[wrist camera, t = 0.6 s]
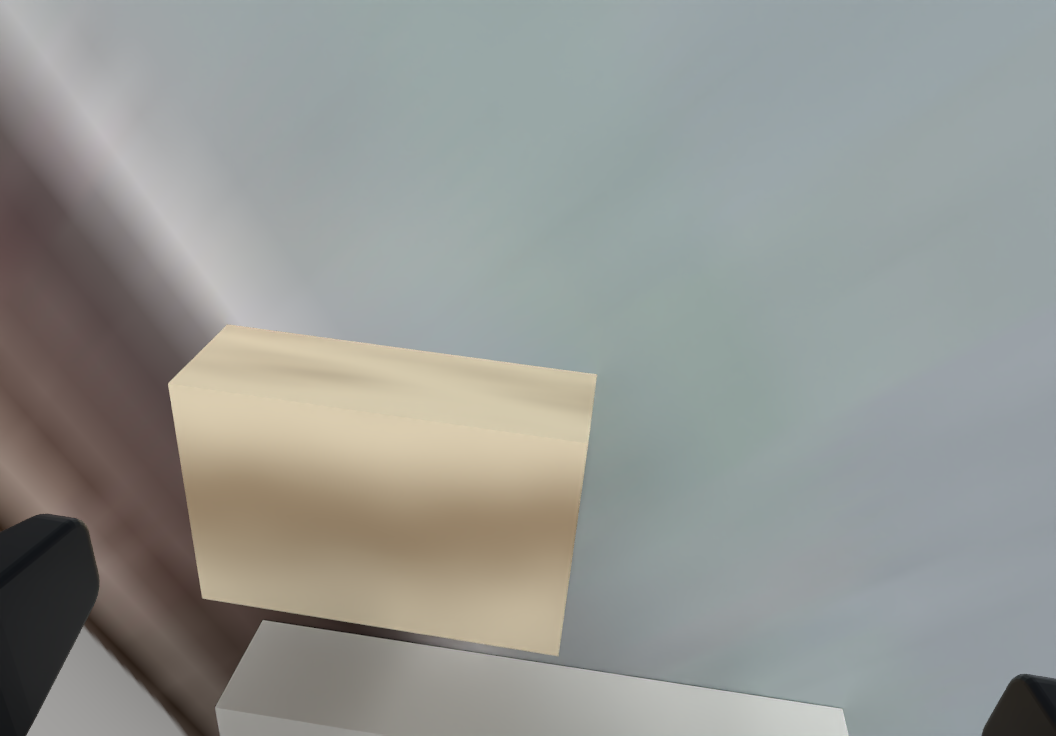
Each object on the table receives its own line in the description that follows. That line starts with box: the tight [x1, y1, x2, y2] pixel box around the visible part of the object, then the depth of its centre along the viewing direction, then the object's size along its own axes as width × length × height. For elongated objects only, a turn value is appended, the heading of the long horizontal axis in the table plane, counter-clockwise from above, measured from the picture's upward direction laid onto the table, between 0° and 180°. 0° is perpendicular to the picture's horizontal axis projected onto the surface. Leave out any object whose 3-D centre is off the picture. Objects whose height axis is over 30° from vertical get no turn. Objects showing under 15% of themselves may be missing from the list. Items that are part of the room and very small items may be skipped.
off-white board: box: [215, 620, 849, 736], centre depth 26 cm, size 2×19×4 cm, turn 87°
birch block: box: [168, 325, 597, 656], centre depth 23 cm, size 7×10×4 cm
